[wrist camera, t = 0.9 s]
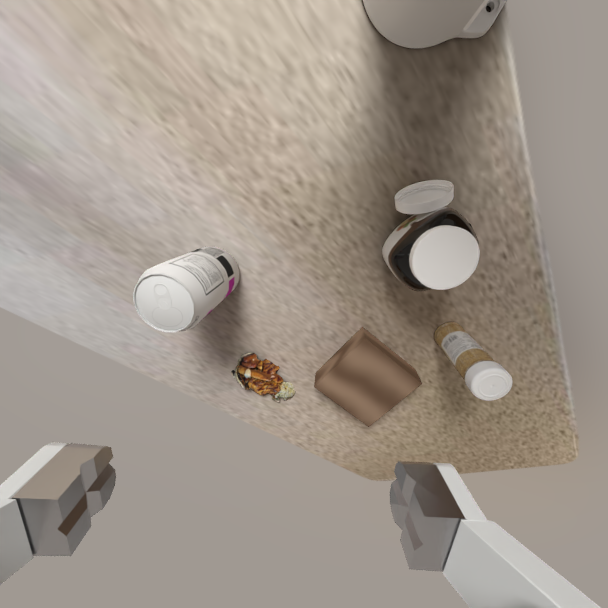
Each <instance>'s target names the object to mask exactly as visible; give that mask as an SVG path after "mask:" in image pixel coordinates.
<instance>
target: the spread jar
mask: <svg viewBox="0 0 608 608" xmlns="http://www.w3.org/2000/svg"><path fill="white" fill-rule="evenodd" d="M394 198H395V206H396V209H397V211H399V212H401V213H404V214H414V215H413V216H411V217H409V218H408V219H406V220H405V221H403V222H402V223H401V224H400V225H399V226H398V227H397V228H396V229H395V230H394V231H393V232H392V233H391V234H390V236H389V237H388V238H387V240H386V241H385V243H384V245H383V248H382V254H383V258H384V260H385V262H386V264H387V266H388V267H389V269H390V270H391V271H392V273H393V274H394V275H395V276H396V277H397V278H398V279H399V280H400V281H401V282H402V283H403V284H404V285H405V286H407V287H408V288H410V289H412V290H415V291H426V290H430V289H436V290H446V289H451V288H454V287H456V286H458V285H460V284H462V283H464V282H465V281H466V280H467V279H468V278H469V277H470V276H471V275H472V274H473V272H474V271H475V269H476V267H477V265H478V262H479V256H480V251H479V246H478V240H477V237H476V234H475V232H474V230H473V228H472V226H471V224H470V223H469V222H468V221H467V220H466V219H465V218H464V217H463V216H462V215H461V214H459V213H458V212H457V211H455V210H453V209H451V208H448V207H445V206H446V205H448V204H449V203H450V202H451V201H452V200H453V198H454V185H453V183H451V182H450V181H446V180H428V181H422V182H418V183H415V184H412V185H409V186H407V187H405V188H403V189H401V190H400V191H398V192H397V193H396V195H395V197H394Z"/></svg>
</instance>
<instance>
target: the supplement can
mask: <svg viewBox="0 0 608 608" xmlns="http://www.w3.org/2000/svg"><path fill="white" fill-rule="evenodd" d="M238 282H239V268H238V265H237V262H236V261H235V260H234V258H233V257H232V255H231V254H229V253H228V252H227V251H225V250H224V249H222V248H219V247H215V246H205V247H202V248H200V249H197V250H195V251H192V252H189V253H187V254H184V255H182V256H179V257H177V258H174V259H171V260H169V261H166V262H164V263H161V264H158V265H156V266H154V267H152V268H149V269H147V270H146V271H145V272H144V273H143V275H142V276H141V277H140V278H139V281H138V283H137V284H136V285H135V289H134V293H133V300H134V306H135V308H136V310H137V312H138V314H139V316H140V317H141V318H142V319H143V320H144V321H145V323H147V324H148V325H150V326H151V327H153V328H154V329H156V330H159V331H163V332H177V331H186V330H188V329H191V328H194V327H195V326H196V325H197V324H198V323H199V322H200V321H201V320H202V319H203V318H204V317H205V316H207V315H208V314H209V313H210V312H211V311H212V310H213V309H214V308H215V307H216V306H217V305H218V304H219V303H220V302H222V301H223V300H224V299H225V298H226V297H227V296H228V295H229V294H230V293H231V292H232V291H233V290H234V289H235V288H236V286H237V284H238Z"/></svg>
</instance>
